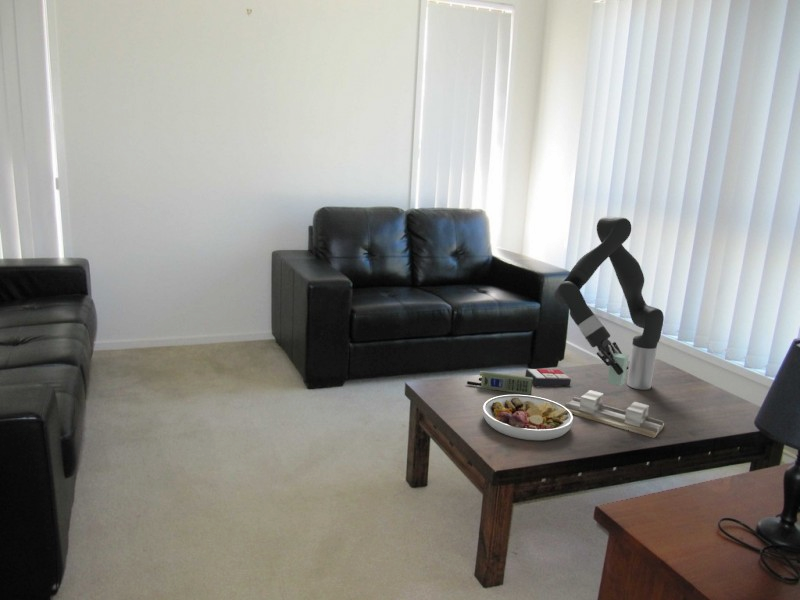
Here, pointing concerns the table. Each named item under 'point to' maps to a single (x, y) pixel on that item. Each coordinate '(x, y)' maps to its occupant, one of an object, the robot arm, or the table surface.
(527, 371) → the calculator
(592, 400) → the rail board
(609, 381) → the sage module
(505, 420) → the bowl
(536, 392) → the table surface
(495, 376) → the handheld radio
